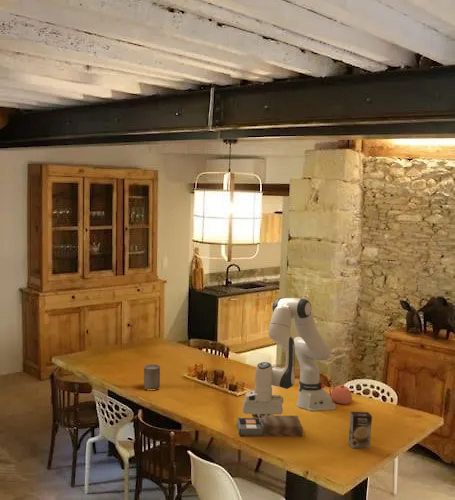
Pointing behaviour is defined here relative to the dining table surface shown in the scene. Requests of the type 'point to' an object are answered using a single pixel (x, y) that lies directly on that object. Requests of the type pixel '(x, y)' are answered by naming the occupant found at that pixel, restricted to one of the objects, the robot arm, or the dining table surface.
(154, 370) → the smart speaker
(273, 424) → the block
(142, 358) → the dining table surface
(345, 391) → the sugar bowl
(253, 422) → the terracotta tile
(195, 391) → the dining table surface
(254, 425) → the cream block
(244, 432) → the bin
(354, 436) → the coffee box
